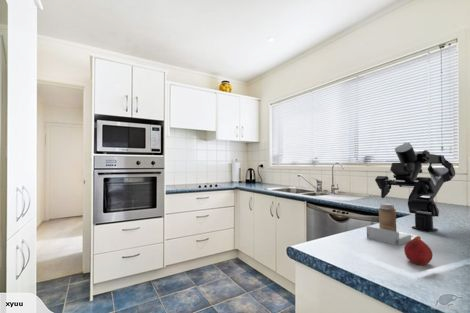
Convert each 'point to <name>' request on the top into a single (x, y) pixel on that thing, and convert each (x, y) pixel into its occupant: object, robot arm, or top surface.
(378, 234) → the lane rack
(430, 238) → the top surface
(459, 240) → the top surface
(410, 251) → the onion
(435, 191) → the robot arm
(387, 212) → the pepper mill
